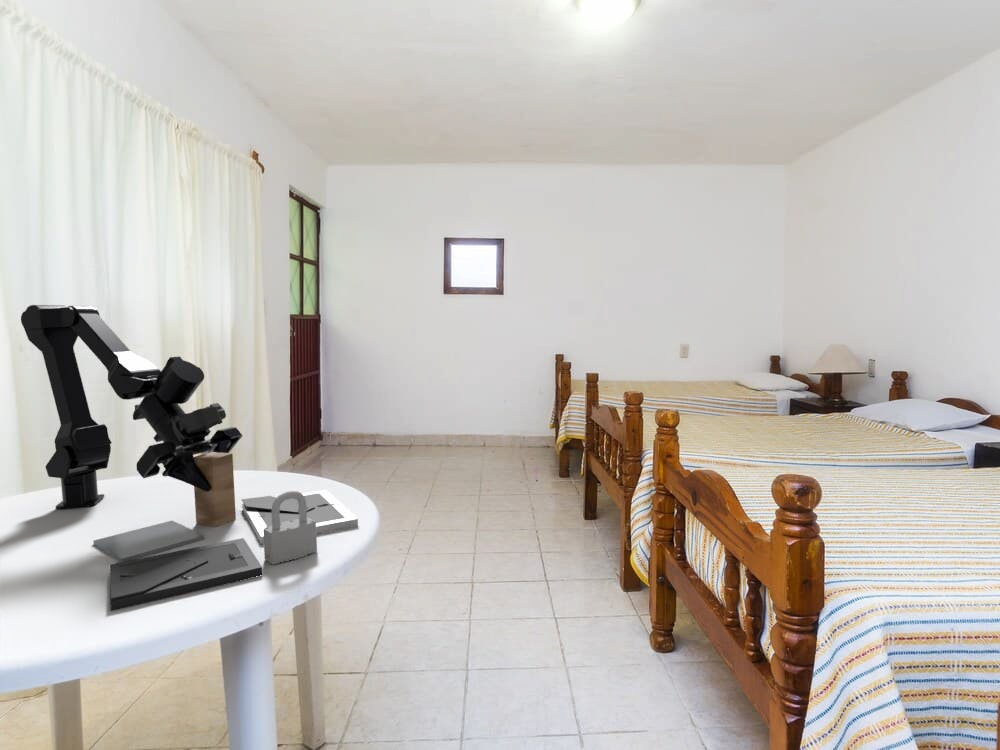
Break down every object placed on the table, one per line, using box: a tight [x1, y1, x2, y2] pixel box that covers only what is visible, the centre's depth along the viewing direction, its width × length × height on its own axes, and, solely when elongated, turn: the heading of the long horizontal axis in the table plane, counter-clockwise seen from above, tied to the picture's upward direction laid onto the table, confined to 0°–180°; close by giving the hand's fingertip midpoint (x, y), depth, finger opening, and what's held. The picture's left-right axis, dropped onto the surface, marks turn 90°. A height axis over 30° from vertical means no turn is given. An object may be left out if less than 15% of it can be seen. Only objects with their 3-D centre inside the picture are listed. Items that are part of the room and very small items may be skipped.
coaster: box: [92, 520, 205, 562], centre depth 96 cm, size 12×12×1 cm
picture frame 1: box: [109, 537, 263, 612], centre depth 83 cm, size 13×2×18 cm
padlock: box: [263, 490, 318, 565], centre depth 89 cm, size 7×4×10 cm, turn 134°
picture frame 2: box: [241, 489, 359, 545], centre depth 107 cm, size 16×3×21 cm
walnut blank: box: [193, 452, 237, 528], centre depth 105 cm, size 4×4×12 cm
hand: (220, 485), depth 104 cm, fingers open, 5 cm apart
